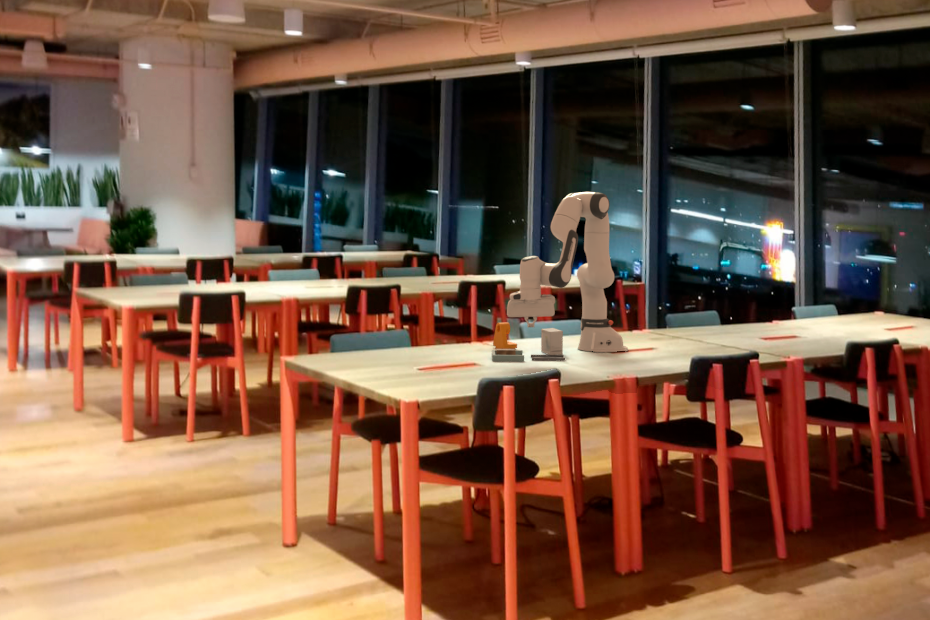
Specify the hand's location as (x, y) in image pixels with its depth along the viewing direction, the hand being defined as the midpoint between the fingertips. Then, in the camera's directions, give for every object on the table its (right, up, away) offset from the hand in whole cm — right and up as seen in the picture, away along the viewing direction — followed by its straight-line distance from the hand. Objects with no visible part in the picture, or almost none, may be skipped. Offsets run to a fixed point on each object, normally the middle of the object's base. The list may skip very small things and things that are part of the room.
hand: (530, 327), depth 434 cm
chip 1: (-13, -13, +1) cm, 18 cm away
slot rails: (+7, -14, +1) cm, 15 cm away
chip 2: (-9, -14, +1) cm, 16 cm away
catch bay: (-9, -13, +1) cm, 16 cm away
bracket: (-10, -10, +30) cm, 33 cm away
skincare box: (+10, -12, +18) cm, 24 cm away
